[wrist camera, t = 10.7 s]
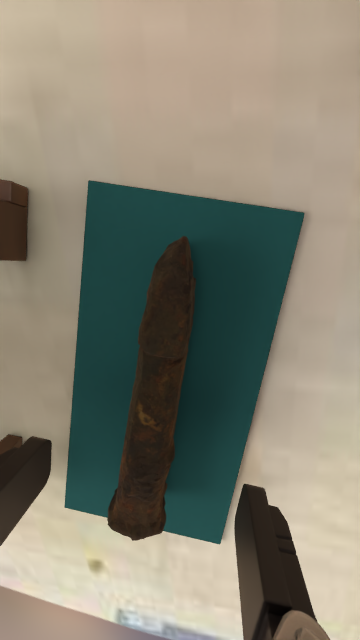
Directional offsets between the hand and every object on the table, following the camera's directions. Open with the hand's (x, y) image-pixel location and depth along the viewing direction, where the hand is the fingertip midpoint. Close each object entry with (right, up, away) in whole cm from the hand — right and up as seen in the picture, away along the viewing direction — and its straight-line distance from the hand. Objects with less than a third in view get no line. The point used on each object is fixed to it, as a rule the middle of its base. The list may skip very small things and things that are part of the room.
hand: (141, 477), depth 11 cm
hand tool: (0, +2, +8) cm, 8 cm away
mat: (0, +2, +8) cm, 8 cm away
